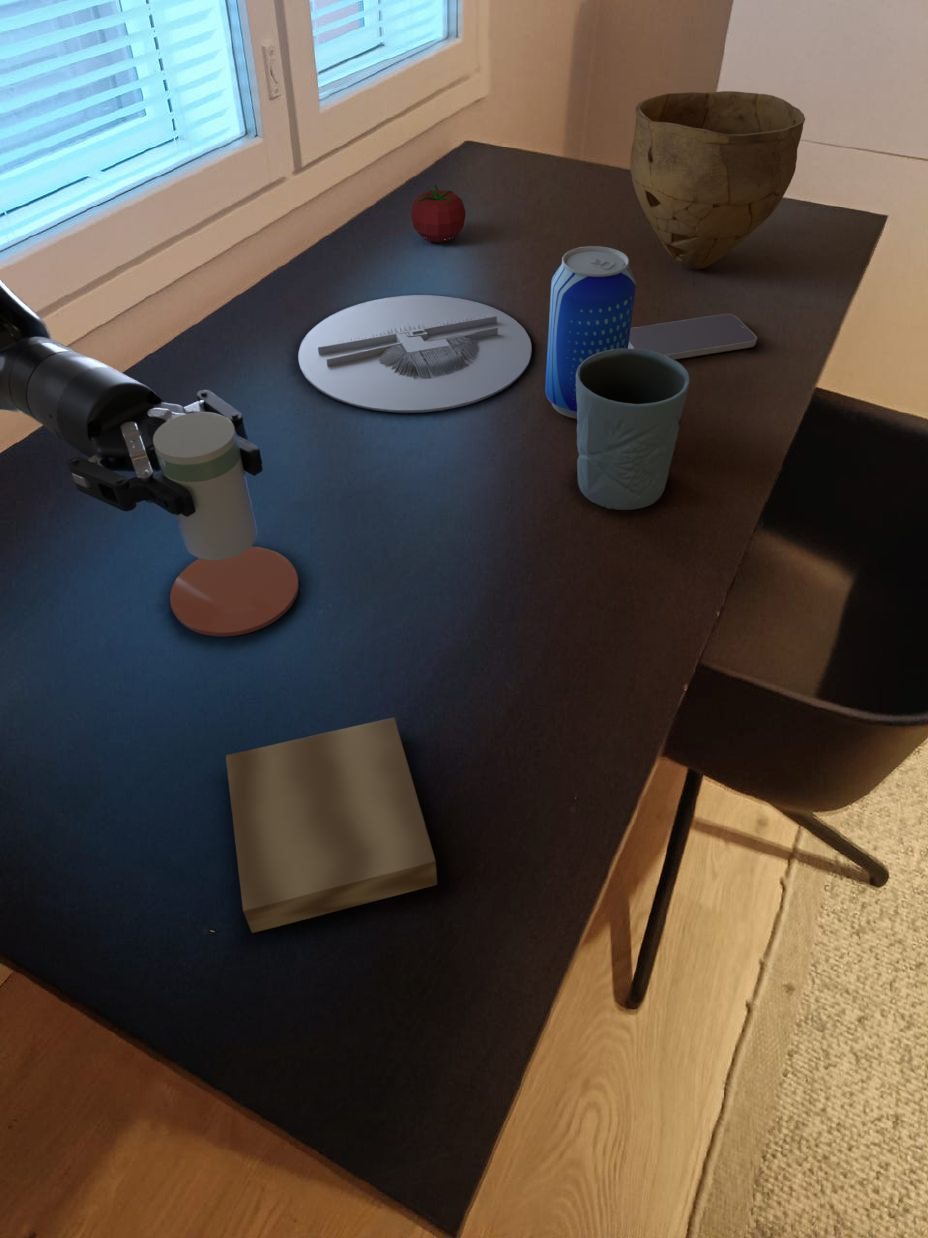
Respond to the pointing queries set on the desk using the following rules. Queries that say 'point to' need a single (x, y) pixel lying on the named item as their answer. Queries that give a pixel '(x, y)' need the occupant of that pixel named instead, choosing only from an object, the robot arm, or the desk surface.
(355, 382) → the plate
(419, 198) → the tomato
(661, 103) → the bowl
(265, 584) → the coaster
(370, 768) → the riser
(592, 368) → the embossed ceramic tumbler
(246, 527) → the canister
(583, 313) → the beer can
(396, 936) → the desk surface
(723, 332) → the smartphone
